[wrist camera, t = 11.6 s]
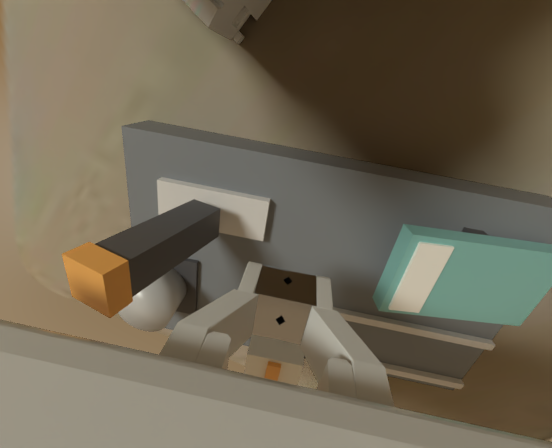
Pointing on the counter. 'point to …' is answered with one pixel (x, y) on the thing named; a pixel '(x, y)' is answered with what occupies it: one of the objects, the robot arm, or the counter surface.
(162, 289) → the button
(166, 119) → the counter surface
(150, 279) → the toggle lever
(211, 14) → the circuit breaker
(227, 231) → the panel
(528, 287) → the teal tile cream strip
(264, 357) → the cream cube orange stripe
